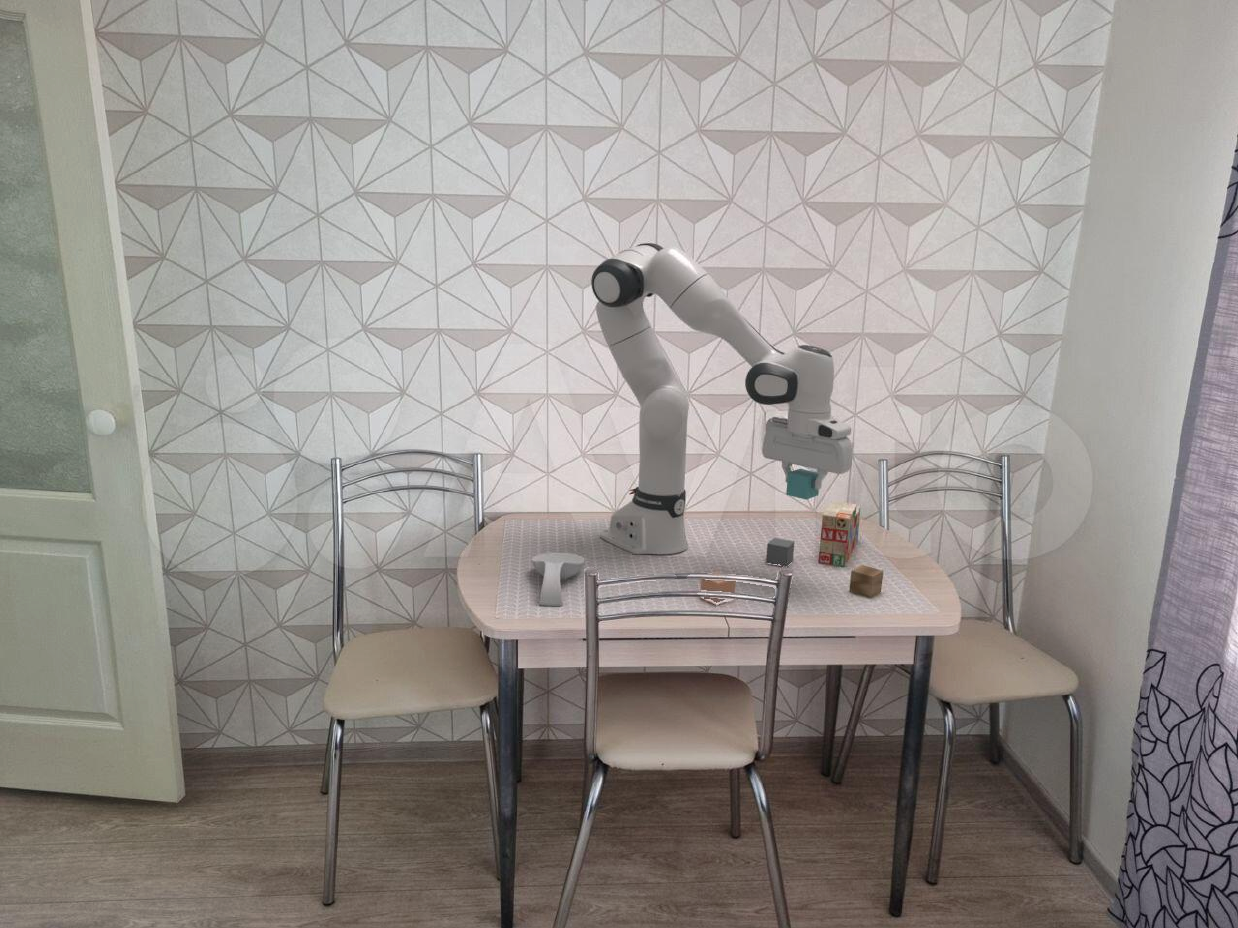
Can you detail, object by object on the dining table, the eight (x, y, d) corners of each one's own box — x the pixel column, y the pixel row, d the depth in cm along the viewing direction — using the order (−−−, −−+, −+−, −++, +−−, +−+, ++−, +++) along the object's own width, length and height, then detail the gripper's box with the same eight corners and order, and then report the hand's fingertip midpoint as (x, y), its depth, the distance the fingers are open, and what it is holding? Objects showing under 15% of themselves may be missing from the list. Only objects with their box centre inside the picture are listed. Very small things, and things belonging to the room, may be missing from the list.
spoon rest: (533, 565, 205) (533, 535, 203) (585, 566, 205) (585, 537, 203) (523, 606, 182) (523, 573, 180) (581, 608, 182) (582, 575, 180)
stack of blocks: (832, 537, 231) (837, 491, 228) (857, 541, 229) (862, 494, 226) (817, 563, 212) (822, 513, 209) (844, 568, 209) (849, 517, 206)
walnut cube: (849, 592, 195) (851, 570, 194) (859, 586, 199) (862, 564, 197) (870, 598, 192) (872, 576, 190) (881, 592, 195) (883, 570, 194)
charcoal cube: (765, 563, 210) (767, 543, 209) (772, 557, 215) (774, 537, 213) (786, 567, 208) (788, 547, 207) (792, 561, 212) (794, 541, 211)
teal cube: (786, 494, 195) (788, 472, 193) (798, 490, 198) (800, 468, 197) (806, 499, 191) (808, 477, 190) (818, 495, 195) (820, 473, 194)
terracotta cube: (700, 598, 189) (701, 575, 188) (717, 593, 192) (718, 571, 191) (716, 606, 185) (718, 583, 184) (733, 600, 188) (735, 578, 187)
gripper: (758, 417, 195) (754, 478, 199) (843, 432, 182) (837, 498, 186) (774, 413, 200) (770, 473, 203) (858, 428, 187) (852, 492, 190)
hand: (803, 485), depth 194 cm, fingers closed on teal cube, 5 cm apart
